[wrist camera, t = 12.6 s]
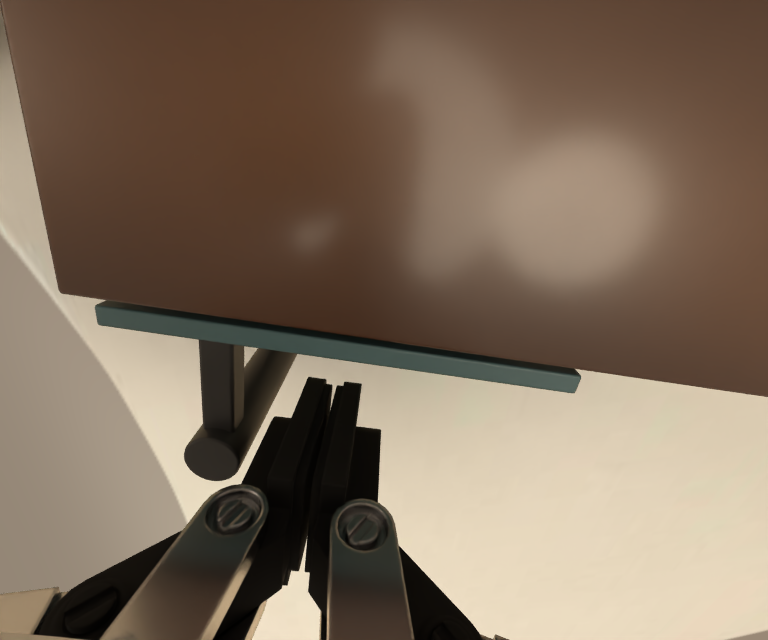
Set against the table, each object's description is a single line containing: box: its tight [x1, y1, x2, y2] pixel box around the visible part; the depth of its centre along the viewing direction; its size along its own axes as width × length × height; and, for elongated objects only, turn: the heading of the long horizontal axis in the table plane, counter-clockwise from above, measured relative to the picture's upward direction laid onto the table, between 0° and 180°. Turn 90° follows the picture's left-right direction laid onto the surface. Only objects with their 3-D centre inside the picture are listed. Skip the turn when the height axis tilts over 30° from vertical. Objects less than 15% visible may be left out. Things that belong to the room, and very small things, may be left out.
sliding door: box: [95, 300, 581, 481], centre depth 12 cm, size 5×9×10 cm, turn 81°
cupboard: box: [0, 0, 768, 397], centre depth 9 cm, size 11×18×11 cm, turn 81°
